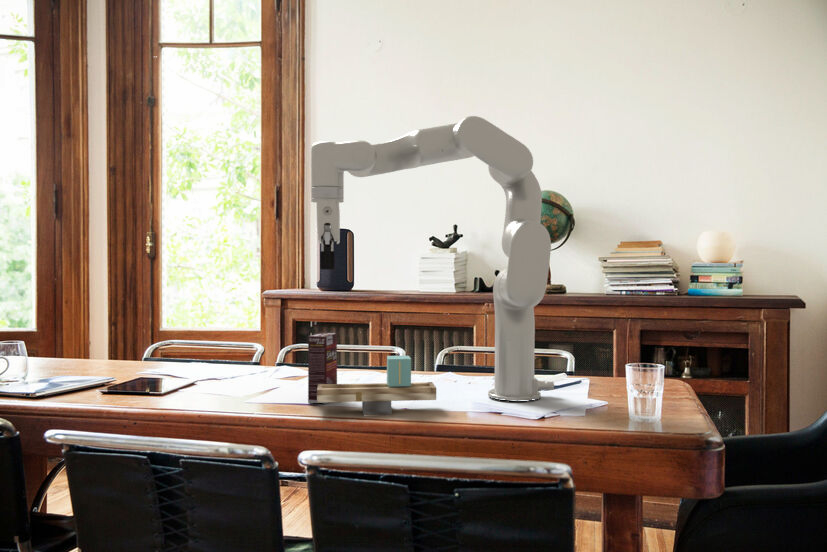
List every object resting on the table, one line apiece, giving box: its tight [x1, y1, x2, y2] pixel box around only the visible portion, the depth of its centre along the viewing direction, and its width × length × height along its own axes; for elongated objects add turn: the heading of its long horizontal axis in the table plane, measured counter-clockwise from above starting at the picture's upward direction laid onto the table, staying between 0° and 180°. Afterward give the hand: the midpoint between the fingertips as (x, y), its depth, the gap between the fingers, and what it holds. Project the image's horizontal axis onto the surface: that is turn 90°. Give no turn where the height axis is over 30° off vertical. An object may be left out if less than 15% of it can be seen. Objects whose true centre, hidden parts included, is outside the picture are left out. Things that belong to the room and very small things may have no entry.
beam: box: [317, 381, 437, 416], centre depth 156 cm, size 26×9×6 cm, turn 96°
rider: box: [386, 355, 412, 387], centre depth 156 cm, size 5×5×7 cm
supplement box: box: [307, 332, 338, 405], centre depth 167 cm, size 9×5×16 cm, turn 168°
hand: (327, 268), depth 164 cm, fingers open, 9 cm apart
